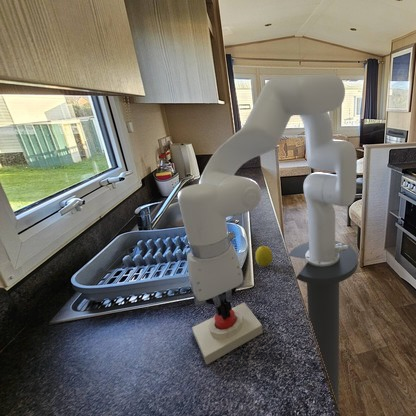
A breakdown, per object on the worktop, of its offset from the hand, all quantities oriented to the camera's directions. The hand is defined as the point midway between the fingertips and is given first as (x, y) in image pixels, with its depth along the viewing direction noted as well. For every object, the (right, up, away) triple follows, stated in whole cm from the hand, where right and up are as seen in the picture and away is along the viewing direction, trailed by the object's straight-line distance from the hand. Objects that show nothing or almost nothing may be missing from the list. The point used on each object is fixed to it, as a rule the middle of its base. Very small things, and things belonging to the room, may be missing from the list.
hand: (224, 314), depth 60 cm
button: (0, -2, +1) cm, 2 cm away
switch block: (0, -5, +2) cm, 6 cm away
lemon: (+3, +5, +28) cm, 28 cm away
